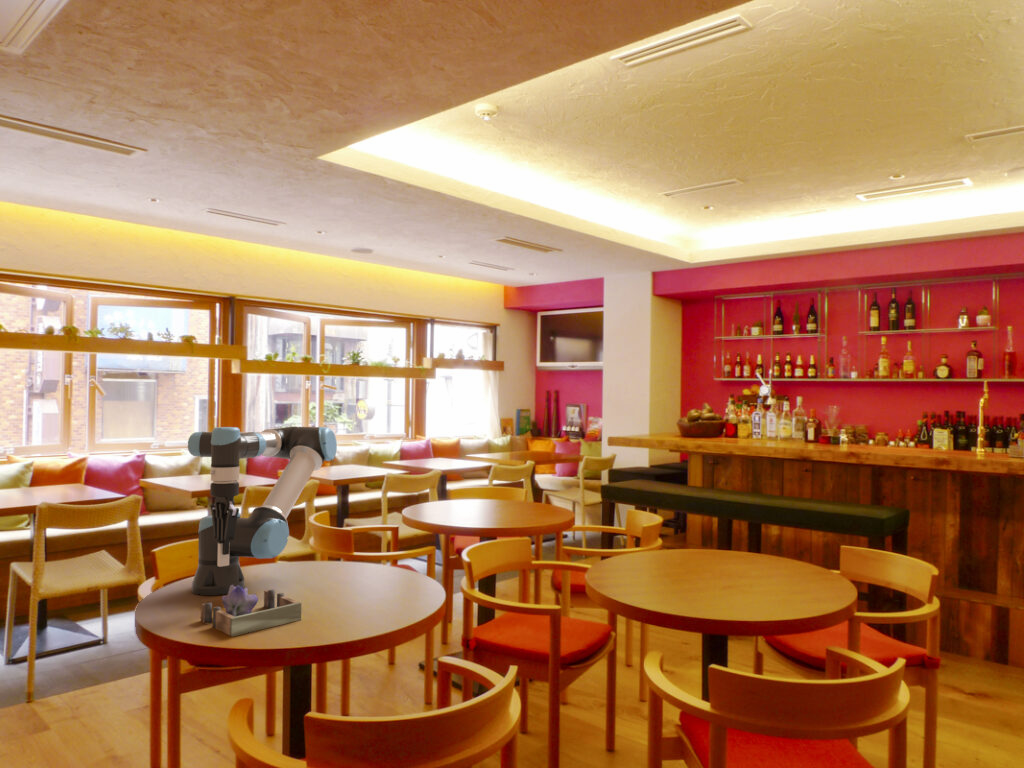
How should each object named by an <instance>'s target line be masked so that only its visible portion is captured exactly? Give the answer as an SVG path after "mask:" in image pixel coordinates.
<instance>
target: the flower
mask: <svg viewBox="0 0 1024 768" xmlns="http://www.w3.org/2000/svg"><path fill="white" fill-rule="evenodd" d="M248 589H249V588H248V587H244V588H242V587H239V586H238V585H237V588H236V587H235V586H234V587H233V585H230V588H229V592H228V594H226V595H223V596H222V597H221V600H222V604H223V607H224V609H225V612H226V613H228V614H230V615H232V616H234V617H236V616H241V615H245V614H249V613H253V612H252V611H253V609H254V608H255V607H256V606H257V603H258V601H259V598H258V597H259V596H257V595H256V594H255V593H253V594H249V593H248Z"/></svg>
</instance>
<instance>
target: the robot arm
mask: <svg viewBox="0 0 1024 768" xmlns="http://www.w3.org/2000/svg"><path fill="white" fill-rule="evenodd" d="M240 430H241V429H240V428H239V427H238V426H237V427H236V426H233V427H232V426H219V427H217V426H216V427H214V428H213V429H212V431H196V432H194V433H192V434H191V435H190V436H189V437H188V440H187V450H188V452H189V454H190V455H191V456H193V457H200V458H210V459H211V460H210V461H211V464H210V471H209V474H210V481H211V483H210V491H209V493H210V494H209V495H210V496H211V497H213V498H214V497H215V499H214V504H210V505H209V507H210V512H211V514H210V515H206V516H203V517H202V518H200V520H199V525H198V531H197V532H198V565H197V568H196V571H195V574H194V577H193V580H192V582H191V592H192V594H194V593H195V594H194V595H198V594H200V596H219V595H228V592H229V588H230V585H233V587H234V586H235V587H236V588H237V585H238V586H239V587H242V588H243V589H245V588H246V586H245V584H246V583H245V581H246V580H245V576H244V574H243V570H242V567H241V564H240V558H241V557H242V558H243V557H244V558H253V559H255V558H256V559H260V560H262V559H264V560H265V559H273V558H276V557H278V556H279V555H280V554H282V552H283V551H284V550H285V548H286V546H287V544H288V541H289V539H288V537H289V536H290V529H289V528H290V527H289V525H288V520H287V518H288V517H289V515H290V513H291V511H292V509H293V507H294V506H295V504H296V502H297V501H298V499H299V497H300V496H301V493H302V492H303V490H304V488H305V487H306V485H307V484H308V482H309V480H310V479H311V476H312V474H313V473H314V471H317V470H319V469H321V467H322V465H323V464H324V462H326V461H327V462H330V461H332V460H334V459H335V458H336V454H337V451H338V449H337V448H338V447H337V446H338V445H337V438H336V434H335V432H334V431H333V429H332V428H330V427H326V426H325V427H324V426H319V427H316V426H285V427H279V428H268V429H264V430H262V431H240ZM260 456H263V457H267V458H279V459H284V460H285V459H286V460H289V461H288V463H287V464H286V466H285V468H284V469H283V471H282V472H281V474H280V476H279V477H278V479H277V480H276V482H275V484H274V486H273V487H272V489H271V490H270V492H269V494H268V496H267V497H266V498H265V500H264V502H263V503H262V505H261V506H257V507H254V509H253V510H252V512H251V513H250V514H249V516H248V517H241V514H240V508H238V507H235V499H234V497H236V496H239V494H240V493H239V492H240V483H239V480H240V467H241V466H240V460H242V459H255V458H257V457H260Z"/></svg>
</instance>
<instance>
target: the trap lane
mask: <svg viewBox="0 0 1024 768" xmlns="http://www.w3.org/2000/svg"><path fill="white" fill-rule="evenodd" d="M275 591H276V590H275V589H268V590H264V591H263V607H264V608H266V607H267V608H266V609H263V610H259V611H254V612H251V613H249V614H245V615H241V616H240V615H237V616H236V617H234V616H232V615H230V614H228V613H226V611H224V610H221V609H222V608H221V607H222V606H213V603H212V602H206V603H201V604H200V622H202V621H204V622H203V623H204V624H205V623H210V624H212V629H216V628H217V629H216V630H218V629H219V630H218V631H220V630H221V631H220V632H222V631H223V633H224V634H226V635H228V636H230V637H232V638H233V637H236V636H240V635H245V634H248V632H249V633H252V631H253V632H257V631H261V630H265V629H269V628H273V627H277V626H281V625H285V624H288V623H289V624H290V623H292V622H293V623H294V622H298V621H301V620H302V602H300V601H298V600H294V599H292V598H289V597H287V596H285V593H284V592H279V593H277V594H275V593H276V592H275ZM275 598H276V601H275ZM275 603H276V604H275ZM275 605H276V607H275ZM260 629H261V630H260ZM256 630H257V631H256Z"/></svg>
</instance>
